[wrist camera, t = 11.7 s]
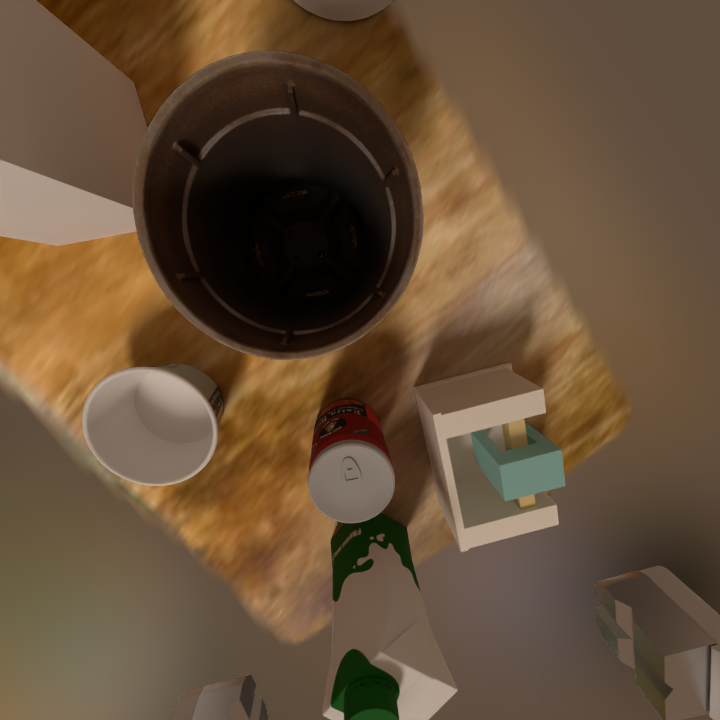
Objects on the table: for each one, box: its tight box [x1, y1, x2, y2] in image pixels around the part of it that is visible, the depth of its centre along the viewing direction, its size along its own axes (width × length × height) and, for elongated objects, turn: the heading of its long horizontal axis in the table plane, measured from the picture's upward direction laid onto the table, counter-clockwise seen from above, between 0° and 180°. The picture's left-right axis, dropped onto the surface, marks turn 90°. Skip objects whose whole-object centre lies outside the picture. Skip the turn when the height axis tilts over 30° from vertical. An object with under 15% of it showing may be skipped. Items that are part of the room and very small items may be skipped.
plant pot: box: [133, 51, 423, 360], centre depth 27 cm, size 16×16×16 cm
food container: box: [82, 364, 223, 486], centre depth 35 cm, size 12×12×6 cm
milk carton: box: [323, 513, 458, 720], centre depth 34 cm, size 9×9×20 cm
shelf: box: [413, 362, 559, 552], centre depth 38 cm, size 16×11×8 cm
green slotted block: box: [471, 421, 565, 501], centre depth 36 cm, size 4×6×7 cm, turn 104°
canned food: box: [308, 399, 395, 523], centre depth 35 cm, size 8×8×11 cm
